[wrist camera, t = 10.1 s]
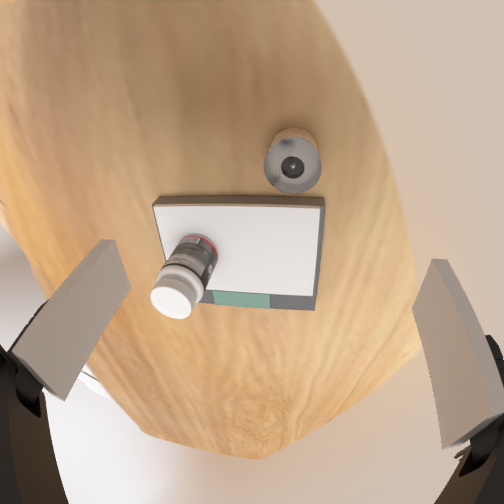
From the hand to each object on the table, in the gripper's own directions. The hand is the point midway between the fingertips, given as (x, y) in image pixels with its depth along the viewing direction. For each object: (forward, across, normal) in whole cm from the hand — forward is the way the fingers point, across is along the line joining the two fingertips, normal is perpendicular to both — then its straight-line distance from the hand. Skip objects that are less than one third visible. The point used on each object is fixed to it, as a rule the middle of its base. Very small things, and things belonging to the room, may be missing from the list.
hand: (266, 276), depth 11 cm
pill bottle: (+16, -9, -10) cm, 21 cm away
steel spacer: (+18, +1, 0) cm, 19 cm away
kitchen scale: (+18, -5, -12) cm, 22 cm away
